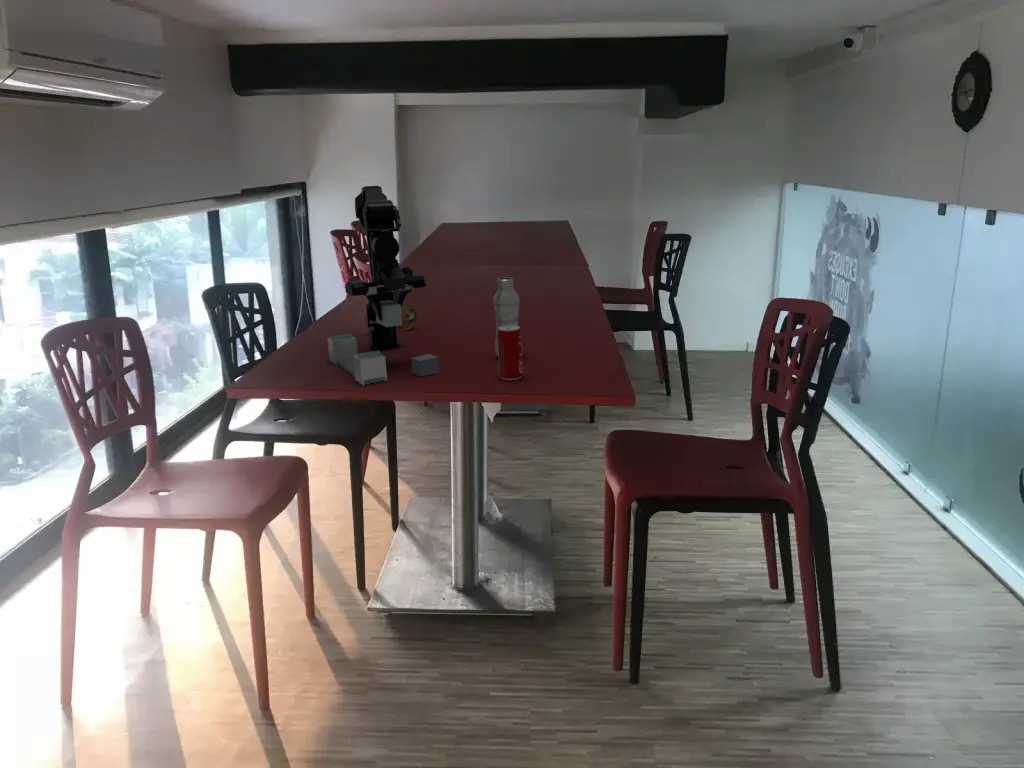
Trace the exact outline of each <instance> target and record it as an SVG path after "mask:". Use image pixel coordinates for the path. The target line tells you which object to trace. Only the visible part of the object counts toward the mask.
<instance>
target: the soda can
mask: <svg viewBox="0 0 1024 768" xmlns="http://www.w3.org/2000/svg"><path fill="white" fill-rule="evenodd" d="M497 339H498V356H497V359H498V376H499V378H500V379H501V380H504V381H517V380H520V379H521V378H522V377H523V375H524V374H523V373H524V372H523V345H522V343H523V342H522V330H521V327H520V325H518V326H515V325H506V326H501V327H499V328H498V333H497Z"/></svg>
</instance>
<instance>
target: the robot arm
mask: <svg viewBox="0 0 1024 768" xmlns="http://www.w3.org/2000/svg"><path fill="white" fill-rule="evenodd" d="M354 211H355V213H354V214H355V218H356V219H358V225H359V227H360V228H361V230H362V231H363V232H364V234H365V236H366V244H367V245H366V247H367V254H368V255H367V256H368V262H369V263H368V264H369V271H370V272H369V273H370V281H371V282H367V281H365V280H363V279H357V280H348V281H346V283H345V286H344V289H345V293H346V294H347V295H349V296H352V297H357V296H363V297H366V299H367V300H366V301H367V304H365V316H366V322H367V326H368V327H370V330H369V329H368V339H369V346H370V347H372V348H374V349H375V351H380V350H386V349H392V348H398V347H400V344H399V343H398V336H397V335H398V334H397V332H396V326H392V327H385V326H383V325H381V324H379V323H377V320H376V315H377V317H378V319H379V321H382V313H381V307H380V302H381V301H389V300H391V301H394V302H396V303H398V304H400V305H401V308H402V304H403V303H404V301H405V299H406V296H407V295H408V294H409V293H412V291H413V290H412V289H411V288H410V287H413V289H420V288H426V287H427V282H426V278H425V276H424V275H422V274H418V273H414V272H413V271H414V270H413V268H412V267H411V266H405V267H403V268H401V267H400V266H399V261H398V259H397V256H398V254H399V252H400V243H399V241H398V240H397V239H396V238H395V234H394V232H400V228H401V227H402V221H401V216H400V211H399V210H398V208H397V206H396V205H394V202H393V201H392V200H391V199H388V196H387V195H385V193H383V188H382V186H380V185H365V186H363V187H361V192H360V193H358V195H357V196H356V197H355V198H354ZM369 320H372V321H369ZM367 326H366V327H367ZM368 327H367V328H368Z"/></svg>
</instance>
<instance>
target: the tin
mask: <svg viewBox="0 0 1024 768" xmlns="http://www.w3.org/2000/svg"><path fill="white" fill-rule="evenodd" d="M401 315H402V325H398V326H396V333H399V332H398V331H402V332H406V330H407V331H409V330H410V329H412V328H413V327H414V326H415V325H416V322H417V312H416V310H415V308H414V306H412V305H411V304H409V303H408V302H407V303H406V302H403V304H402V308H401ZM369 321H372V320H369ZM364 322H365V325H366V327H367V329H368V331H369V330H370V327H368V326H367V322H366V315H365V316H364Z"/></svg>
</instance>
